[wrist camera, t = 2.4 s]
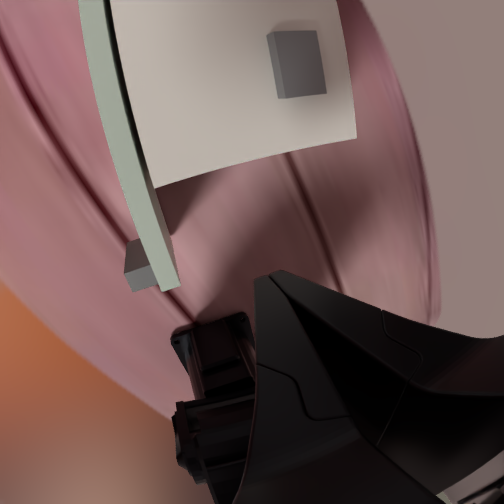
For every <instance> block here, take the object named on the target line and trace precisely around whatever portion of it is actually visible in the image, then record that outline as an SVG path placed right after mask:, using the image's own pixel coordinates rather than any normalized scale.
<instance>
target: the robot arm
mask: <svg viewBox="0 0 504 504" xmlns="http://www.w3.org/2000/svg"><path fill="white" fill-rule="evenodd" d="M253 283H254V322H255V341H254V337H253V333H252V329H251V325H250V322H249V318H248V316H247V314H246V313H245V312H240V313H237V314H234V315H231V316H228V317H226V318H223V319H220V320H217V321H214V322H211V323H208V324H205V325H202V326H199V327H196V328H193V329H190V330H187V331H184V332H181V333H178V334H174V335H172V336H171V338H170V340H171V345H172V346H173V348H174V350H175V352H176V354H177V355H178V357H179V359H180V361H181V363H182V364H183V366H184V368H185V370H186V371H187V373H188V375H189V377H190V381H191V385H192V389H193V393H194V397H195V400H192V401H186V402H183V401H180V402H176V408H177V411H175V415H173V416H172V422H173V427H174V432H175V442H176V459H177V462H178V465H179V466H181V467H183V468H184V469H186V470H188V472H189V474H190V475H191V476H193V479H194V481H195V483H196V484H197V485H200V484H205V483H207V484H208V487H209V489H210V492H211V495H212V497H213V500H214V503H215V504H446V503H445V502H444V501H442V500H441V499H440V498H438V497H437V496H436V495H437V494H439V493H440V492H442V491H443V492H444V493H445V495H446V496H447V497H448V499H449V500H450V502H451V503H452V504H504V335H502V336H499V337H494V338H474V337H470V336H465V335H462V334H458V333H454V332H451V331H447V330H443V329H440V328H436V327H432V326H429V325H426V324H422V323H419V322H416V321H412V320H410V319H407V318H404V317H401V316H398V315H396V314H393V313H390V312H388V311H385V310H382V311H381V309H380V308H377V307H375V306H372V305H370V304H367V303H365V302H362V301H359V300H357V299H354V298H352V297H349V296H347V295H344V294H342V293H339V292H337V291H334V290H332V289H329V288H326V287H324V286H321V285H319V284H316V283H314V282H311V281H309V280H306V279H304V278H301V277H299V276H296V275H294V274H291V273H288V272H286V271H283V270H279V271H276V272H273V273H270V274H269V275H268V276H267V275H264V276H262V277H259V278H256V279H254V281H253ZM241 318H243V319H241ZM175 340H178V341H175Z"/></svg>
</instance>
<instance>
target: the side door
mask: <svg viewBox="0 0 504 504" xmlns="http://www.w3.org/2000/svg"><path fill="white" fill-rule="evenodd" d="M78 3H79V11H80V19H81V25H82V32H83V38H84V44H85V49H86V55H87V60H88V65H89V70H90V75H91V79H92V84H93V88H94V92H95V97H96V101H97V105H98V109H99V113H100V117H101V120H102V124H103V128H104V131H105V135H106V139H107V142H108V146H109V149H110V152H111V156H112V159H113V162H114V165H115V169H116V172H117V175H118V178H119V181H120V184H121V187H122V190H123V193H124V196H125V199H126V202H127V205H128V207H129V210H130V213H131V216H132V218H133V221H134V224H135V227H136V229H137V232H138V235H139V237H140V238H139V239H136V240H133V241H131V242H128V243H127V248H126V257H125V267H124V275H125V277H126V279H127V281H128V283H129V285H130V288H131V290H132V292H136V291H139V290H142V289H145V288H148V287H151V286H154V285H157V284H159V286H160V288H161V291H162V292H163V291H166V290H169V289H172V288H175V287H178V286H181V283H180V279H179V274H178V270H177V265H176V260H175V255H174V250H173V245H172V240H171V237H170V234H169V231H168V228H167V225H166V222H165V219H164V216H163V213H162V210H161V207H160V204H159V201H158V198H157V194H156V191H155V189H154V186H153V183H152V180H151V176H150V173H149V170H148V166H147V163H146V159H145V156H144V152H143V149H142V145H141V142H140V138H139V134H138V130H137V127H136V123H135V119H134V115H133V111H132V107H131V103H130V99H129V95H128V90H127V86H126V82H125V77H124V73H123V68H122V63H121V59H120V54H119V49H118V44H117V38H116V33H115V27H114V22H113V16H112V10H111V3H110V0H78Z"/></svg>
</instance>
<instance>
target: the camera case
mask: <svg viewBox="0 0 504 504" xmlns="http://www.w3.org/2000/svg"><path fill="white" fill-rule="evenodd" d="M110 3H111V10H112V16H113V22H114V27H115V33H116V38H117V44H118V49H119V54H120V59H121V63H122V68H123V73H124V77H125V82H126V86H127V90H128V95H129V99H130V103H131V107H132V111H133V115H134V119H135V123H136V127H137V130H138V134H139V138H140V142H141V145H142V149H143V152H144V156H145V159H146V163H147V166H148V170H149V173H150V176H151V180H152V183H153V186H154V189H155V188H158V187H161V186H164V185H167V184H170V183H173V182H176V181H180V180H183V179H186V178H189V177H193V176H196V175H200V174H203V173H206V172H210V171H214V170H217V169H221V168H224V167H228V166H232V165H236V164H239V163H243V162H247V161H251V160H255V159H259V158H263V157H267V156H272V155H276V154H280V153H285V152H289V151H294V150H298V149H303V148H308V147H313V146H318V145H323V144H328V143H333V142H339V141H344V140H350V139H356V138H357V134H356V122H355V112H354V103H353V94H352V86H351V79H350V72H349V65H348V58H347V52H346V46H345V41H344V35H343V30H342V25H341V20H340V15H339V11H338V6H337V2H336V0H110Z"/></svg>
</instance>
